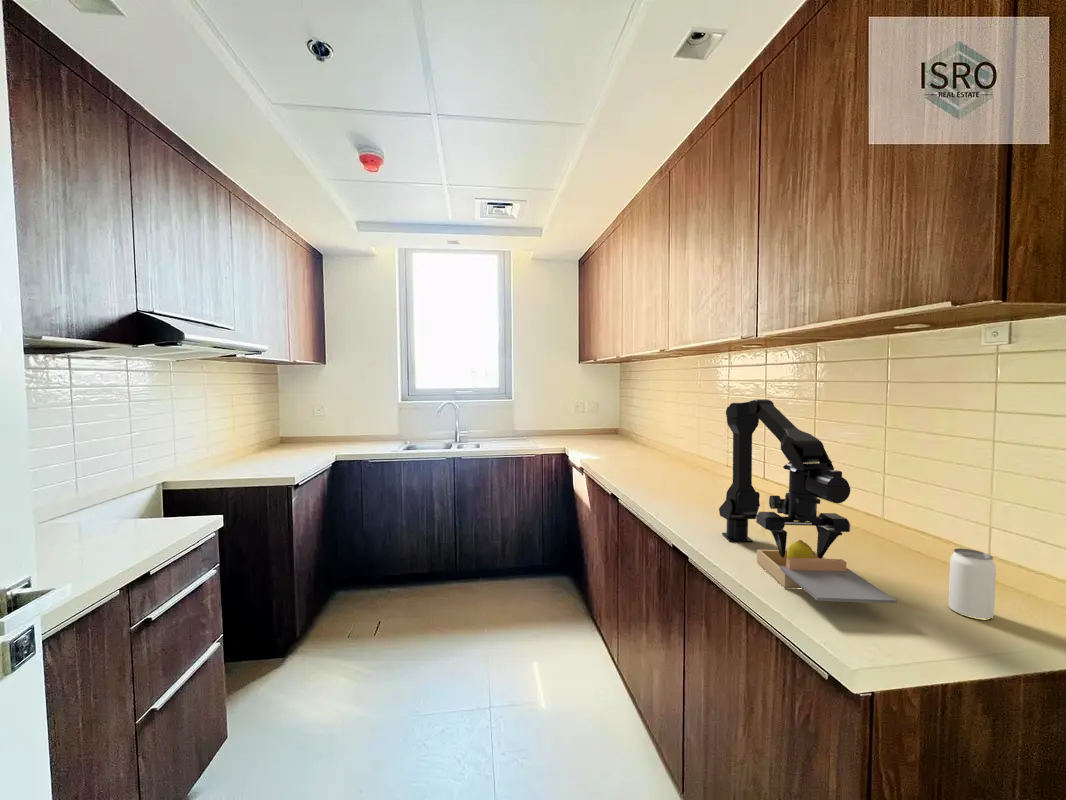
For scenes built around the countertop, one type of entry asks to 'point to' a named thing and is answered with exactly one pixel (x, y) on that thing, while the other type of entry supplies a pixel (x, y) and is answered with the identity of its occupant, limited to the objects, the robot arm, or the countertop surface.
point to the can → (972, 583)
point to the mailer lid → (833, 581)
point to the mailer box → (777, 566)
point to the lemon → (799, 550)
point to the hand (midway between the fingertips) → (800, 557)
